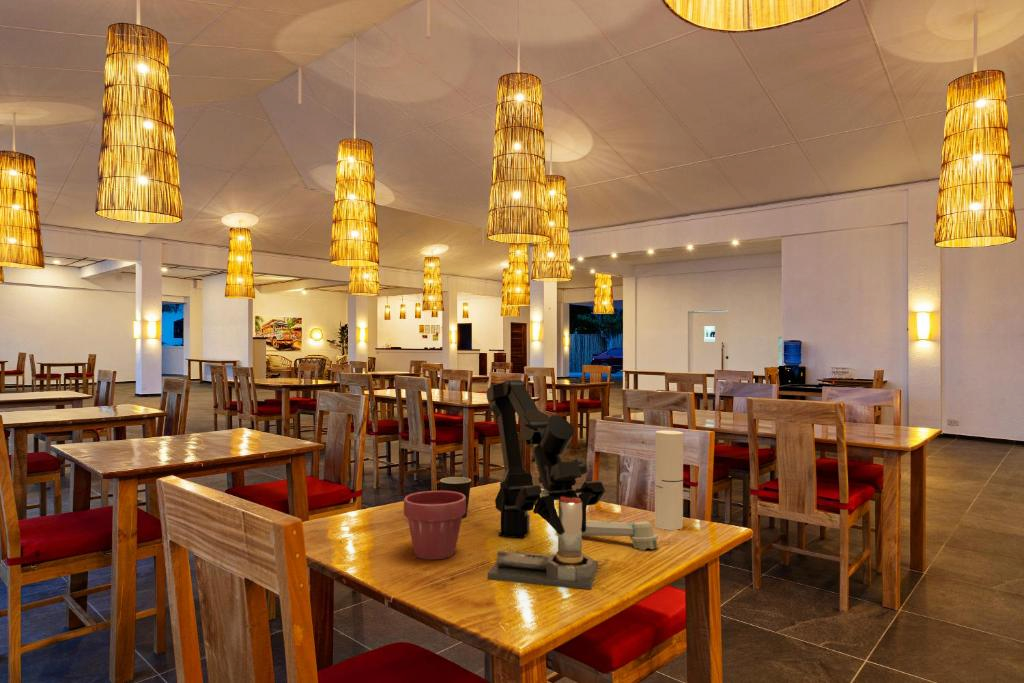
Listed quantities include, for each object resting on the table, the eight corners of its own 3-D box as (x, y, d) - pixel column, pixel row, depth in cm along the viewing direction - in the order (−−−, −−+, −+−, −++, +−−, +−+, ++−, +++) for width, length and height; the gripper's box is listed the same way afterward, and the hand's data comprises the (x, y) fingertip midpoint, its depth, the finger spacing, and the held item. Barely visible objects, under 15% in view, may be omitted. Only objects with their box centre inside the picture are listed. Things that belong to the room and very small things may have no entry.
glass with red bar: (551, 563, 123) (552, 498, 123) (564, 556, 127) (565, 493, 127) (575, 569, 120) (576, 502, 120) (587, 561, 124) (588, 496, 124)
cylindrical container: (678, 531, 156) (678, 434, 157) (651, 527, 160) (651, 432, 160) (686, 525, 162) (686, 431, 163) (659, 521, 166) (660, 429, 166)
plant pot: (402, 544, 143) (403, 490, 144) (461, 541, 146) (462, 488, 146) (403, 565, 129) (404, 505, 129) (469, 562, 132) (469, 503, 132)
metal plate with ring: (487, 578, 122) (487, 557, 122) (504, 557, 135) (504, 538, 135) (590, 589, 117) (591, 567, 117) (597, 566, 130) (597, 546, 130)
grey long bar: (562, 516, 157) (657, 516, 145) (565, 542, 156) (661, 544, 144) (553, 520, 152) (651, 521, 140) (557, 547, 151) (655, 550, 140)
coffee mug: (469, 520, 164) (469, 483, 164) (437, 520, 164) (438, 483, 165) (472, 509, 176) (473, 475, 176) (443, 509, 176) (443, 474, 176)
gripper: (521, 447, 124) (542, 515, 114) (601, 443, 131) (628, 507, 120) (507, 477, 131) (526, 544, 121) (583, 472, 138) (607, 535, 128)
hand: (573, 532), depth 122 cm, fingers closed on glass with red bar, 5 cm apart
